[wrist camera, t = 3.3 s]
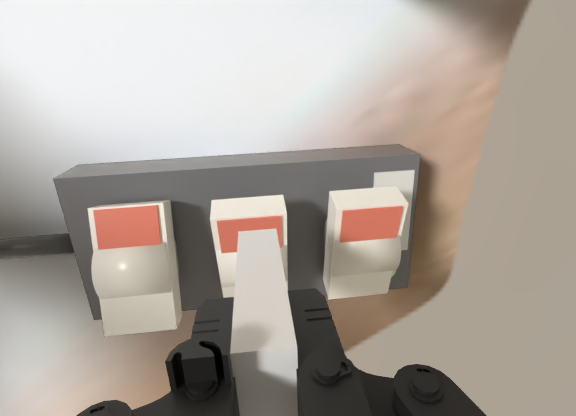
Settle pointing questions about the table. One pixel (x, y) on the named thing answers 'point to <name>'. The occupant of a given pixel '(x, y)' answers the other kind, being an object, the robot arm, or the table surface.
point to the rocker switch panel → (226, 185)
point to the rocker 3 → (362, 240)
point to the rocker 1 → (135, 267)
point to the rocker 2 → (245, 217)
